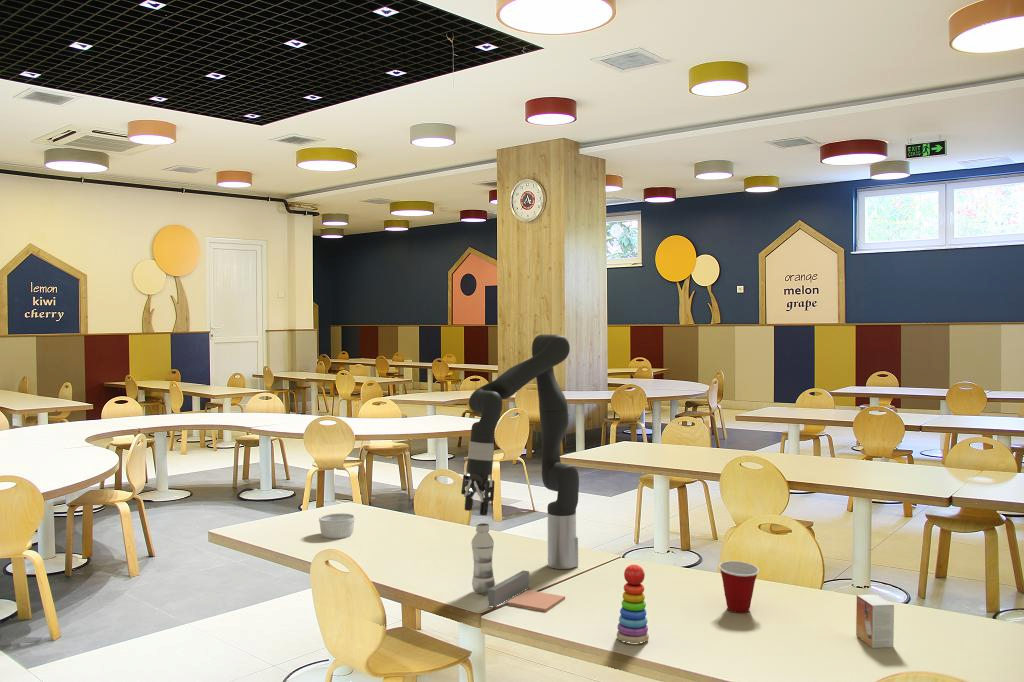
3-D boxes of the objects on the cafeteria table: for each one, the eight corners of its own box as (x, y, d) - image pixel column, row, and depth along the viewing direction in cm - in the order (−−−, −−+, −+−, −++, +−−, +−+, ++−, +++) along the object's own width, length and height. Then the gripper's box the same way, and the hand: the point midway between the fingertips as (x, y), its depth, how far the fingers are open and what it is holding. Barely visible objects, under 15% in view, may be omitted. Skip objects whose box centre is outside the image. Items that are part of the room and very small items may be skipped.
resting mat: (528, 592, 246) (528, 589, 246) (565, 599, 240) (565, 596, 240) (507, 604, 236) (507, 602, 236) (545, 611, 230) (545, 609, 230)
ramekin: (326, 530, 322) (326, 512, 322) (359, 531, 320) (359, 513, 320) (313, 539, 309) (313, 520, 309) (348, 540, 307) (348, 521, 307)
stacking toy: (627, 647, 204) (627, 571, 204) (610, 636, 212) (610, 562, 211) (655, 642, 207) (654, 567, 207) (637, 631, 215) (637, 558, 214)
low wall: (523, 586, 252) (523, 570, 251) (529, 587, 251) (529, 571, 250) (488, 606, 234) (488, 589, 234) (494, 608, 233) (494, 590, 233)
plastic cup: (737, 619, 223) (737, 574, 223) (710, 607, 233) (710, 564, 232) (768, 612, 228) (768, 568, 228) (740, 600, 238) (740, 558, 237)
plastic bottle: (492, 596, 243) (491, 527, 242) (469, 595, 244) (468, 526, 244) (497, 589, 249) (496, 522, 249) (474, 588, 251) (474, 521, 250)
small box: (855, 636, 211) (855, 594, 210) (877, 635, 211) (877, 593, 211) (872, 648, 203) (872, 605, 202) (894, 647, 203) (894, 604, 203)
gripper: (504, 460, 246) (499, 516, 245) (478, 455, 257) (473, 508, 256) (482, 460, 241) (477, 517, 240) (457, 454, 253) (452, 508, 252)
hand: (475, 512), depth 248 cm, fingers open, 8 cm apart
